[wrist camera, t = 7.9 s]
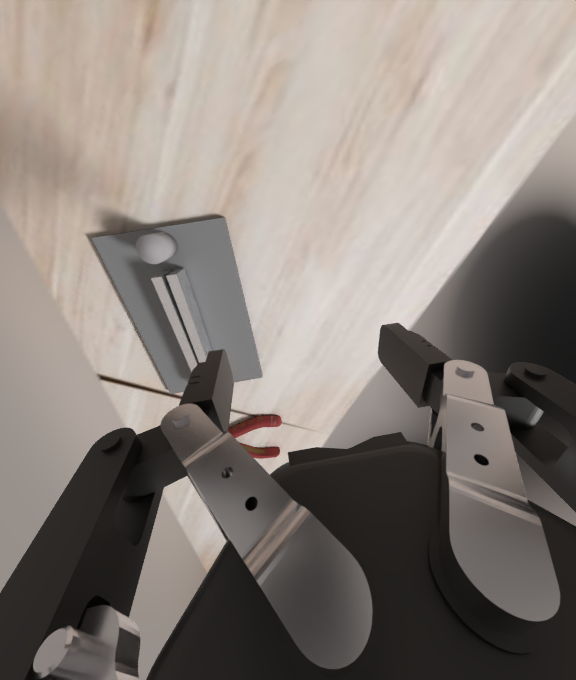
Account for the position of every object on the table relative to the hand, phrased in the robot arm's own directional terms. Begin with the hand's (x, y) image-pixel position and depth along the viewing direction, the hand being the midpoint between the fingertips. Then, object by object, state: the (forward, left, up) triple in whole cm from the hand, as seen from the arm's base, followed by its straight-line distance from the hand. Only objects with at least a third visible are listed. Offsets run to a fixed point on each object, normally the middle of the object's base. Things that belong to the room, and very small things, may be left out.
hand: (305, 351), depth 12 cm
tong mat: (+6, -13, -24) cm, 28 cm away
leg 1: (+8, -14, -23) cm, 28 cm away
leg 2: (+8, -12, -23) cm, 27 cm away
